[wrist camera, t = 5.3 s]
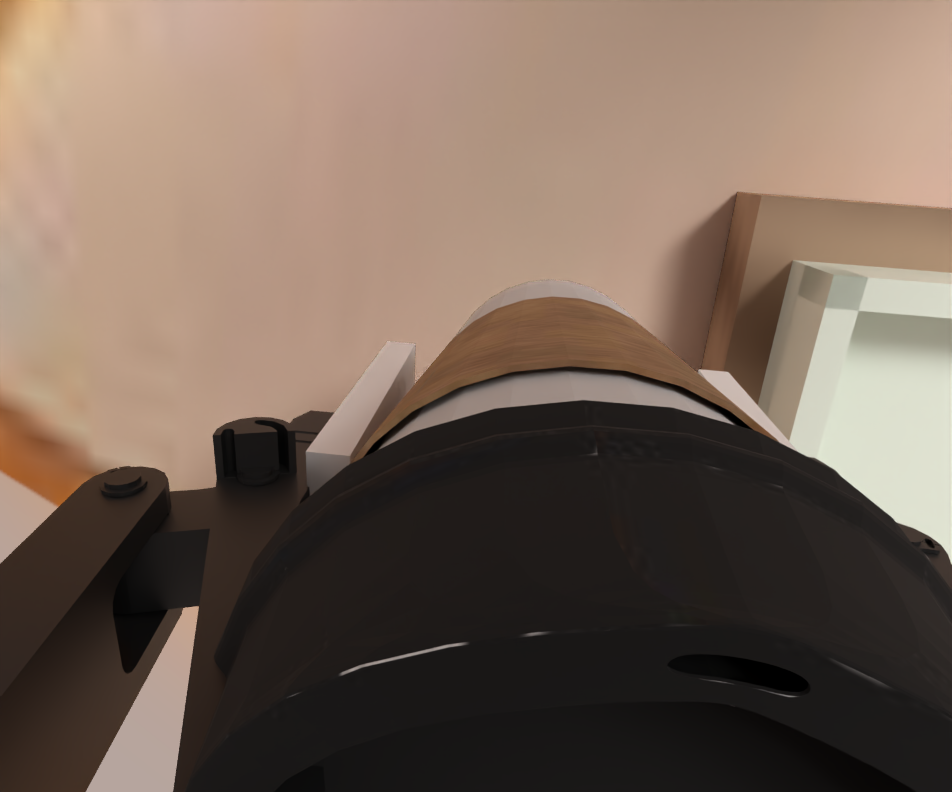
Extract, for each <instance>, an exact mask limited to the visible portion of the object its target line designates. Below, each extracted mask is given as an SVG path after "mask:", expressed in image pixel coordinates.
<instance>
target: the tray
mask: <svg viewBox="0 0 952 792" xmlns="http://www.w3.org/2000/svg"><path fill="white" fill-rule="evenodd" d="M758 407H759V408H760V409H761V410H762V411H763V412H764V413H765V414H766V416H767V417H768V418H769V419H770V420H771V421H772V422H773V424H774V425H775V426H776V427H777V428H778V429H779V430H780V432H781V433H782V434H783V435H784V436H785V437H786V438H787V440H788V441H789V442H790V443H791V444H792V445H793V446H794V448H795V449H796V450H797V451H798V452H799V453H801V454H803V455H805V456H807V457H813V458H816V459H818V460H819V461H821V462H823V463H824V464H826V465H828V466H829V467H831V468H833V469H834V470H836V471H837V472H838V474H839V475H840V476H841V477H843V478H844V479H845V480H846V481H847V482H849V483H850V484H851V485H852V486H854V487H855V488H856V489H857V490H859V491H860V492H861V493H862V494H864V495H865V496H866V497H867V498H869V499H870V500H871V501H872V502H873V503H875V504H876V505H877V506H878V507H880V508H881V509H882V510H883V511H885V512H886V513H887V514H888V515H890V516H891V517H892V518H893V519H894V520H895V522H897V523H900V524H903V525H906V526H909V527H912V528H914V529H916V530H918V531H920V532H922V533H924V534H926V535H928V536H930V537H931V538H933V539H934V540H935V541H937V542H938V543H939V544H941V545H942V547H943V548H944V549H945V551H946V552H947V554H948V556H949V559H950V562H951V564H952V273H947V272H934V271H922V270H909V269H897V268H884V267H872V266H859V265H847V264H834V263H822V262H809V261H797V260H793V262H792V266H791V270H790V274H789V279H788V283H787V287H786V291H785V295H784V299H783V303H782V307H781V311H780V316H779V320H778V324H777V328H776V332H775V336H774V340H773V344H772V348H771V353H770V357H769V361H768V365H767V369H766V373H765V377H764V381H763V385H762V390H761V394H760V398H759V402H758Z"/></svg>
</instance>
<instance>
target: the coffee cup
mask: <svg viewBox="0 0 952 792" xmlns="http://www.w3.org/2000/svg"><path fill="white" fill-rule="evenodd" d="M214 660H215V662H216V664H217V666H218V667H219V668H220V670H221V671H222V672H223V673H224V675H225V677H226V683H225V687H224V690H223V692H222V695H221V697H220V700H219V703H218V705H217V708H216V710H215V713H214V716H213V718H212V721H211V724H210V726H209V729H208V731H207V734H206V737H205V739H204V742H203V744H202V747H201V750H200V752H199V755H198V757H197V760H196V763H195V765H194V768H193V770H192V773H191V776H190V778H189V781H188V783H187V786H186V789H185V791H184V792H274V791H275V790H276V789H277V788H278V787H279V786H280V785H281V784H282V783H283V782H284V781H285V780H287V779H288V778H290V777H292V776H293V775H295V774H297V773H299V772H301V771H302V770H304V769H306V768H308V767H310V766H320V767H323V769H324V781H325V792H952V589H951V588H950V587H949V585H948V584H947V583H946V581H945V580H944V579H943V577H942V576H941V574H940V573H939V572H938V570H937V569H936V568H935V566H934V565H933V564H932V562H931V561H930V559H929V558H928V557H927V555H925V554H924V553H923V552H922V551H921V550H919V549H918V548H917V547H916V546H915V545H913V544H912V543H911V541H910V540H909V539H908V537H907V536H906V535H905V533H904V532H903V531H902V529H901V528H900V527H899V526H898V524H897V523H896V522H895V520H894V519H893V518H892V517H891V516H890V515H888V514H887V513H886V512H885V511H883V510H882V509H881V508H880V507H878V506H877V505H876V504H875V503H873V502H872V501H871V500H870V499H869V498H867V497H866V496H865V495H864V494H862V493H861V492H860V491H859V490H857V489H856V488H855V487H854V486H852V485H851V484H850V483H849V482H847V481H846V480H845V479H844V478H843V477H841V476H840V475H839V474H838V473H836V472H835V471H834V470H833V469H831V468H829V467H827V466H825V465H823V464H821V463H819V462H817V461H815V460H813V459H811V458H809V457H807V456H805V455H803V454H801V453H799V452H797V451H795V450H793V449H791V448H789V447H787V446H785V445H783V444H781V443H780V442H779V441H778V440H777V439H776V438H775V437H774V436H772V435H771V434H770V433H769V432H768V431H766V430H765V429H764V428H763V427H762V426H760V425H759V424H758V423H757V422H756V421H754V420H753V419H752V418H751V417H750V416H748V415H747V414H746V413H745V412H744V411H743V410H741V409H740V408H739V407H738V406H737V405H735V404H734V403H733V402H732V401H731V400H729V399H728V398H727V397H726V396H725V395H723V394H722V393H721V392H720V391H719V390H718V389H716V388H715V387H714V386H713V385H712V384H710V383H709V382H708V381H707V380H706V379H704V378H703V377H702V376H701V375H700V374H698V373H697V372H696V371H695V370H694V369H692V368H691V367H690V366H689V365H688V364H687V363H685V362H684V361H683V360H682V359H681V358H679V357H678V356H677V355H676V354H675V353H673V352H672V351H671V350H670V349H669V348H667V347H666V346H665V345H664V344H663V343H661V342H660V341H659V340H658V339H657V338H656V337H654V336H653V335H652V334H651V333H649V332H648V331H647V330H646V329H644V328H643V327H642V326H641V325H639V324H638V323H637V322H636V321H635V320H634V319H633V318H632V317H631V316H630V315H629V314H628V313H627V312H626V311H625V310H624V309H623V308H621V307H620V306H619V305H618V304H617V303H615V302H614V301H613V300H612V299H610V298H609V297H608V296H606V295H604V294H602V293H600V292H598V291H596V290H594V289H592V288H590V287H588V286H585V285H581V284H578V283H574V282H571V281H562V280H540V281H532V282H526V283H523V284H520V285H517V286H514V287H510V288H508V289H506V290H504V291H502V292H500V293H499V294H497V295H495V296H493V297H491V298H490V299H489V300H488V301H486V302H485V303H484V304H483V305H482V306H481V307H479V308H478V309H477V310H476V311H475V312H474V313H473V314H472V315H471V317H470V318H469V319H468V320H467V322H466V323H465V324H464V326H463V327H462V328H461V330H460V331H459V332H458V334H457V335H456V336H455V337H454V338H453V340H452V341H451V342H450V343H449V344H448V345H447V347H446V348H445V349H444V350H443V351H442V353H441V354H440V355H439V356H438V357H437V359H436V360H435V361H434V362H433V363H432V365H431V366H430V367H429V368H428V369H427V370H426V372H425V373H424V374H423V375H422V376H421V378H420V379H419V380H418V381H417V382H416V384H415V385H414V386H413V387H412V388H411V390H410V391H409V392H408V393H407V394H406V395H405V397H404V398H403V399H402V400H401V401H400V403H399V404H398V405H397V406H396V407H395V409H394V410H393V411H392V412H391V413H390V415H389V416H388V417H387V418H386V419H385V420H384V422H383V423H382V424H381V425H380V426H379V428H378V429H377V430H376V431H375V432H374V434H373V435H372V436H371V437H370V438H369V440H368V441H367V442H366V443H365V445H364V446H363V447H362V449H361V450H360V451H359V452H358V454H357V455H356V456H355V458H354V459H353V460H352V461H351V463H350V464H349V465H347V466H346V467H345V468H343V469H342V470H341V471H340V472H338V473H337V474H336V475H335V476H334V477H332V478H331V479H330V480H329V481H327V482H326V483H325V484H324V485H323V486H321V487H320V488H319V489H318V490H317V491H315V492H314V493H313V494H312V495H310V496H309V497H308V498H307V499H306V500H304V501H303V502H302V503H301V504H300V505H298V506H297V507H296V508H295V509H293V510H292V511H291V513H290V514H289V515H288V517H287V518H286V519H285V521H284V522H283V523H282V525H281V526H280V527H279V529H278V530H277V531H276V532H275V534H274V535H273V536H272V538H271V539H270V540H269V542H268V543H267V544H266V546H265V547H264V548H263V550H262V551H261V552H260V553H259V555H258V556H257V557H256V559H255V560H254V562H253V564H252V566H251V569H250V571H249V573H248V576H247V578H246V580H245V583H244V585H243V587H242V590H241V592H240V594H239V597H238V599H237V601H236V603H235V606H234V608H233V610H232V613H231V615H230V618H229V620H228V622H227V625H226V627H225V630H224V632H223V634H222V637H221V639H220V641H219V644H218V646H217V649H216V651H215V654H214Z"/></svg>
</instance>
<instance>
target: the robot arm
mask: <svg viewBox="0 0 952 792" xmlns="http://www.w3.org/2000/svg"><path fill="white" fill-rule="evenodd" d="M415 351H416V344H415V343H404V342H393V341H387V342H386V344H385V345H384V346H383V348H382V349H381V350H380V352H379V353H378V354H377V356H376V357H375V358H374V360H373V361H372V363H371V364H370V365H369V367H368V368H367V369H366V371H365V372H364V373H363V375H362V376H361V377H360V379H359V380H358V381H357V383H356V384H355V386H354V387H353V388H352V390H351V391H350V392H349V394H348V395H347V396H346V398H345V399H344V400H343V402H342V403H341V405H340V406H339V407H338V409H337V410H336V411H335V413H330V412H320V411H309V412H307V413H305V414H303V415H301V416H299V417H297V418H295V419H293V420H292V422H291V423H290V424H289V423H288V422H286V421H284V420H280V419H275V418H267V417H253V418H246V419H239V420H236V421H233V422H229V423H226V424H225V425H223V426H221V427H220V428H218V429H217V430H216V431H215V433H214V434H213V443H214V454H215V464H216V475H217V482H216V487H214V488H208V489H200V490H187V491H173V492H170V491H169V483H168V478H167V477H166V475H165V473H164V472H162V471H159V470H157V469H155V468H148V467H130V466H126V467H119V468H120V469H117V468H115V469H111V470H108V471H107V472H104V473H102V474H99V475H97V476H94V477H92V478H91V479H89V480H88V481H86V482H85V483H83V484H82V485H81V486H80V487H79V488H78V489H77V490H76V491H75V492H74V493H73V494H72V495H71V496H70V497H69V498H68V499H67V500H66V501H65V502H64V503H62V504H61V505H60V506H59V507H58V508H57V509H56V510H55V511H54V512H53V513H52V514H51V515H50V516H49V517H48V518H47V519H46V520H45V521H44V522H43V523H42V524H41V525H40V526H39V527H38V528H37V529H36V530H35V531H34V532H33V533H32V534H31V535H30V536H29V537H28V538H26V539H25V541H23V542H22V543H21V544H20V545H19V546H18V547H17V548H16V549H15V550H14V551H13V552H12V553H11V554H10V555H9V556H8V557H7V558H6V559H5V560H4V561H3V562H2V563H1V564H0V792H86V790H87V788H88V786H89V784H90V782H91V781H92V779H93V777H94V775H95V773H96V771H97V770H98V768H99V766H100V764H101V762H102V760H103V758H104V757H105V755H106V753H107V751H108V749H109V747H110V745H111V743H112V742H113V740H114V738H115V736H116V734H117V732H118V731H119V729H120V727H121V725H122V723H123V721H124V720H125V717H126V716H127V714H128V712H129V710H130V708H131V707H132V705H133V703H134V701H135V699H136V697H137V695H138V694H139V692H140V690H141V688H142V686H143V684H144V682H145V681H146V679H147V677H148V675H149V673H150V671H151V669H152V668H153V665H154V664H155V662H156V660H157V658H158V656H159V655H160V653H161V651H162V649H163V647H164V645H165V644H166V642H167V640H168V638H169V636H170V634H171V632H172V630H173V628H174V627H175V625H176V623H177V621H178V619H179V618H180V616H181V614H182V610H183V608H185V607H193V606H199V611H198V619H197V625H196V632H195V639H194V647H193V654H192V661H191V668H190V675H189V683H188V690H187V697H186V704H185V712H184V719H183V726H182V733H181V740H180V747H179V754H178V761H177V769H176V776H175V783H174V790H173V792H184V791H185V789H186V786H187V783H188V781H189V778H190V776H191V773H192V770H193V768H194V765H195V763H196V760H197V757H198V755H199V752H200V750H201V747H202V744H203V742H204V739H205V737H206V734H207V731H208V729H209V726H210V724H211V721H212V718H213V716H214V713H215V710H216V708H217V705H218V703H219V700H220V697H221V695H222V692H223V690H224V687H225V683H226V677H225V675H224V673H223V672H222V671H221V670H220V668H219V667H218V666H217V664H216V662H215V660H214V654H215V651H216V649H217V646H218V644H219V641H220V639H221V637H222V634H223V632H224V630H225V627H226V625H227V622H228V620H229V618H230V615H231V613H232V610H233V608H234V606H235V603H236V601H237V599H238V597H239V594H240V592H241V590H242V587H243V585H244V583H245V580H246V578H247V576H248V573H249V571H250V569H251V566H252V564H253V562H254V560H255V559H256V557H257V556H258V555H259V553H260V552H261V551H262V550H263V548H264V547H265V546H266V544H267V543H268V542H269V540H270V539H271V538H272V536H273V535H274V534H275V532H276V531H277V530H278V529H279V527H280V526H281V525H282V523H283V522H284V521H285V519H286V518H287V517H288V515H289V514H290V513H291V511H292V510H293V509H295V508H296V507H297V506H298V505H300V504H301V503H302V502H303V501H304V500H306V499H307V498H308V497H309V496H310V495H312V494H313V493H314V492H315V491H317V490H318V489H319V488H320V487H321V486H323V485H324V484H325V483H326V482H327V481H329V480H330V479H331V478H332V477H334V476H335V475H336V474H337V473H338V472H340V471H341V470H342V469H343V468H345V467H346V466H347V465H349V464H350V463H351V461H352V460H353V459H354V458H355V456H356V455H357V454H358V452H359V451H360V450H361V449H362V447H363V446H364V445H365V443H366V442H367V441H368V440H369V438H370V437H371V436H372V435H373V434H374V432H375V431H376V430H377V429H378V428H379V426H380V425H381V424H382V423H383V422H384V420H385V419H386V418H387V417H388V416H389V415H390V413H391V412H392V411H393V410H394V409H395V407H396V406H397V405H398V404H399V403H400V401H401V400H402V399H403V398H404V397H405V395H406V394H407V393H408V392H409V391H410V390H411V388H412V387H413V386H414V379H415ZM698 374H700V375H701V376H702V377H703V378H704V379H706V380H707V381H708V382H709V383H710V384H712V385H713V386H714V387H715V388H716V389H718V390H719V391H720V392H721V393H722V394H723V395H725V396H726V397H727V398H728V399H729V400H731V401H732V402H733V403H734V404H735V405H737V406H738V407H739V408H740V409H741V410H743V411H744V412H745V413H746V414H747V415H748V416H750V417H751V418H752V419H753V420H754V421H756V422H757V423H758V424H759V425H760V426H762V427H763V428H764V429H765V430H766V431H768V432H769V433H770V434H771V435H772V436H774V437H775V438H776V439H777V440H778V441H779V442H780V443H781V444H783V445H785V446H787V447H789V448H791V449H793V450H795V451H797V450H796V449H795V448H794V446H793V445H792V444H791V443H790V442H789V441H788V440H787V438H786V437H785V436H784V435H783V434H782V433H781V432H780V430H779V429H778V428H777V427H776V426H775V425H774V424H773V422H772V421H771V420H770V419H769V418H768V417H767V416H766V414H765V413H764V412H763V411H762V410H761V409H760V408H759V407H758V405H757V404H756V403H755V402H754V401H753V400H752V399H751V397H750V396H749V395H748V394H747V393H746V392H745V391H744V389H743V388H742V387H741V386H740V385H739V384H738V383H737V381H736V380H735V379H734V378H733V377H732V376H731V375H730V373H729V372H724V371H713V370H702V369H698ZM797 452H798V451H797ZM809 458H811V459H813V460H815V461H817V462H819V463H821V464H823V465H825V466H827V467H829V466H828V465H826V464H824V463H823V462H821V461H819V460H818V459H816V458H813V457H809ZM829 468H831V467H829ZM831 469H833V468H831ZM833 470H834V469H833ZM834 471H835V472H836V473H838V472H837V471H836V470H834ZM896 523H897V522H896ZM897 524H898V526H899V527H900V528H901V529H902V531H903V532H904V533H905V535H906V536H907V537H908V539H909V540H910V541H911V543H912V544H913V545H915V546H916V547H917V548H918V549H919V550H921V551H922V552H923V553H924V554H925V555H927V557H928V558H929V559H930V561H931V562H932V564H933V565H934V566H935V568H936V569H937V570H938V572H939V573H940V574H941V576H942V577H943V579H944V580H945V581H946V583H947V584H948V585H949V587H950V588H951V589H952V564H951V562H950V559H949V556H948V554H947V552H946V551H945V549H944V548H943V547H942V545H941V544H939V543H938V542H937V541H935V540H934V539H933V538H931V537H930V536H928V535H926V534H924V533H922V532H920V531H918V530H916V529H914V528H912V527H909V526H906V525H903V524H900V523H897ZM274 792H325V781H324V769H323V767H320V766H310V767H308V768H306V769H304V770H302V771H301V772H299V773H297V774H295V775H293V776H292V777H290V778H288V779H287V780H285V781H284V782H283V783H282V784H281V785H280V786H279V787H278V788H277V789H276V790H275V791H274Z"/></svg>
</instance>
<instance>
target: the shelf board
mask: <svg viewBox="0 0 952 792" xmlns="http://www.w3.org/2000/svg"><path fill="white" fill-rule="evenodd" d="M793 260H797V261H809V262H822V263H834V264H847V265H859V266H872V267H884V268H897V269H909V270H922V271H934V272H947V273H952V208H939V207H926V206H913V205H900V204H887V203H874V202H861V201H848V200H835V199H822V198H809V197H796V196H782V195H769V194H756V193H743V192H737V197H736V202H735V207H734V212H733V216H732V221H731V226H730V231H729V236H728V241H727V246H726V251H725V255H724V260H723V265H722V270H721V275H720V280H719V285H718V289H717V294H716V299H715V304H714V309H713V314H712V319H711V324H710V328H709V333H708V338H707V343H706V348H705V353H704V358H703V363H702V367H701V369H702V370H713V371H724V372H729V373H730V375H731V376H732V377H733V378H734V379H735V380H736V381H737V383H738V384H739V385H740V386H741V387H742V388H743V389H744V391H745V392H746V393H747V394H748V395H749V396H750V397H751V399H752V400H753V401H754V402H755V403H756V404H757V405H758V402H759V398H760V394H761V390H762V385H763V381H764V377H765V373H766V369H767V365H768V361H769V357H770V353H771V348H772V344H773V340H774V336H775V332H776V328H777V324H778V320H779V316H780V311H781V307H782V303H783V299H784V295H785V291H786V287H787V283H788V279H789V274H790V270H791V266H792V262H793Z"/></svg>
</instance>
